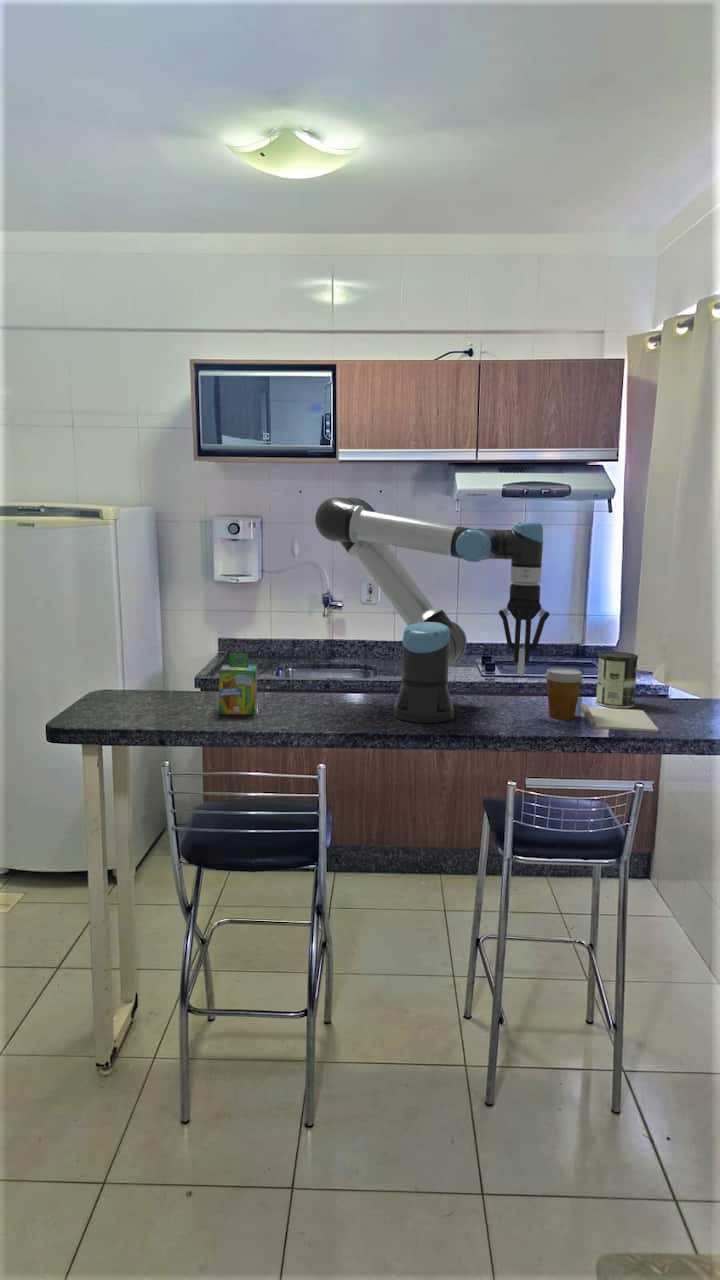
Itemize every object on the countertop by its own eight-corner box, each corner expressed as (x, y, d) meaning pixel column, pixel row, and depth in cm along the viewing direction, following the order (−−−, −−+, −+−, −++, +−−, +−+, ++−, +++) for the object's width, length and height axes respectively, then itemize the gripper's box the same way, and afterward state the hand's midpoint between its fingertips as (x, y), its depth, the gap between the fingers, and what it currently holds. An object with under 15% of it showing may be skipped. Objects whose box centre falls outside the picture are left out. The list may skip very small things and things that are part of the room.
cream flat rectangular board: (590, 728, 195) (590, 722, 195) (580, 708, 215) (581, 703, 215) (658, 732, 193) (659, 726, 193) (642, 712, 212) (643, 706, 212)
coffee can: (626, 700, 226) (630, 651, 224) (639, 709, 216) (643, 658, 214) (590, 699, 226) (593, 650, 224) (601, 708, 216) (605, 657, 214)
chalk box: (218, 715, 200) (218, 657, 197) (222, 707, 209) (221, 651, 206) (255, 715, 200) (255, 657, 198) (257, 707, 209) (257, 651, 207)
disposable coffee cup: (574, 712, 211) (577, 668, 209) (585, 721, 201) (588, 675, 199) (538, 711, 211) (541, 667, 209) (547, 721, 201) (550, 674, 199)
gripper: (499, 584, 200) (495, 676, 203) (552, 585, 198) (547, 679, 201) (499, 581, 207) (494, 671, 211) (550, 583, 205) (545, 673, 209)
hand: (520, 674), depth 206 cm, fingers closed
